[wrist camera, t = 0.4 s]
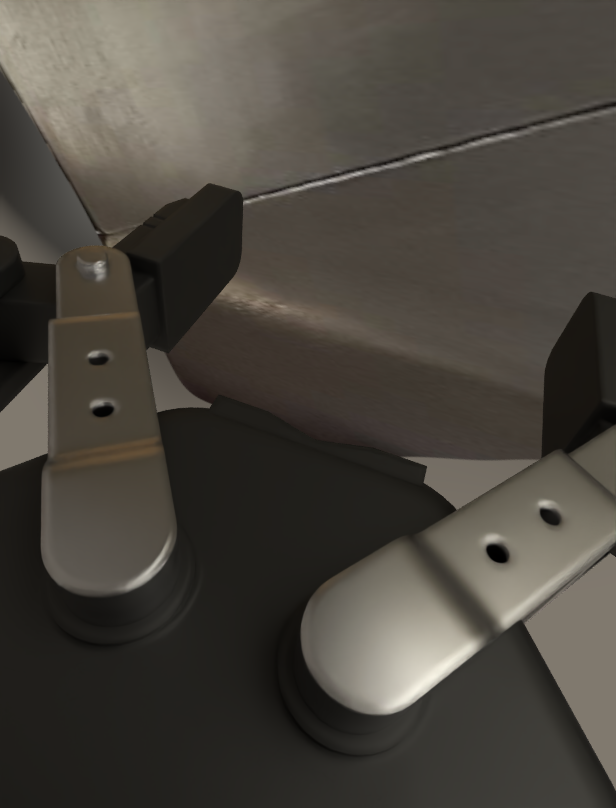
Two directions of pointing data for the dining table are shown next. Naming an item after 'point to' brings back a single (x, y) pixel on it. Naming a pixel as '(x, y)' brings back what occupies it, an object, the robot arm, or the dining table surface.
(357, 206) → the dining table surface
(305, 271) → the dining table surface
